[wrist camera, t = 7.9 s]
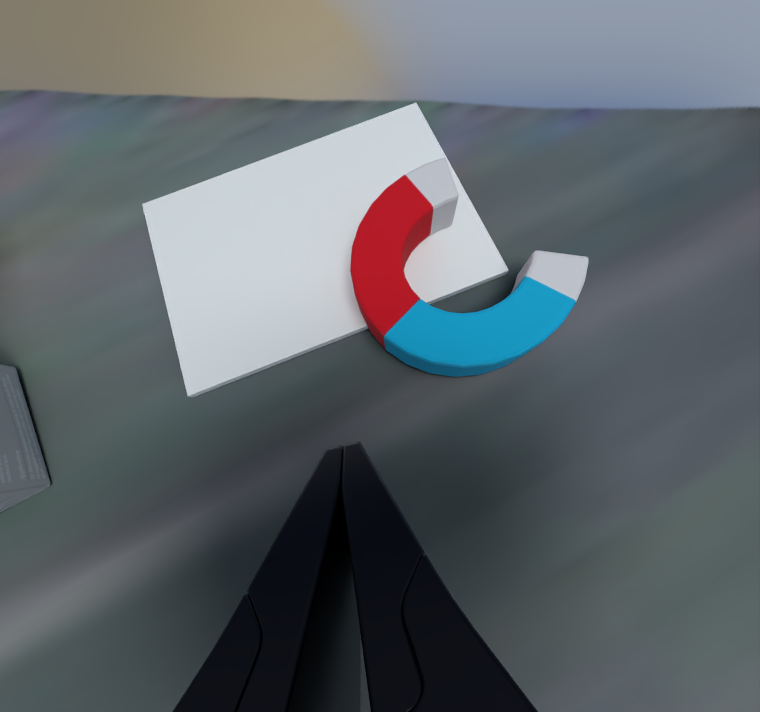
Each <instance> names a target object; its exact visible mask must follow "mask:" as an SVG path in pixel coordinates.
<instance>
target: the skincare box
mask: <svg viewBox="0 0 760 712" xmlns="http://www.w3.org/2000/svg"><path fill="white" fill-rule="evenodd" d="M50 485H51V483H50V479H49V476H48V473H47V469H46V466H45V463H44V459H43V456H42V453H41V450H40V446H39V443H38V440H37V436H36V433H35V430H34V427H33V423H32V420H31V417H30V413H29V410H28V407H27V403H26V400H25V397H24V394H23V390H22V387H21V384H20V381H19V377H18V374H17V370H16V368H15V367H12V366H7V365H2V364H0V512H2V511H4V510H6V509H8V508H10V507H12V506H14V505H15V504H17V503H19V502H21V501H23V500H25V499H27V498H29V497H31V496H33V495H34V494H36V493H38V492H40V491H42V490H44V489H46V488H47V487H49V486H50Z"/></svg>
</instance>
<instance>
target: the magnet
mask: <svg viewBox="0 0 760 712" xmlns="http://www.w3.org/2000/svg"><path fill="white" fill-rule="evenodd" d="M458 197H459V194H458V191H457V188H456V185H455V183H454V180H453V177H452V174H451V171H450V168H449V166H448V163H447V160H446V158H441V159H438V160H435V161H432V162H429V163H426V164H424V165H422V166H420V167H418V168H416V169H414V170H412V171H410V172H408V173H407V174H405V175H403V176H402V177H401V178H399V179H398V180H397V181H395V182H394V183H393V184H391V185H390V186H389V187H387V188H386V189H385V190H384V191H383V192H382V193H381V194H380V196H379V197H378V198H377V199H376V200H375V201H374V202H373V203H372V204H371V206H370V207H369V209H368V211H367V212H366V214H365V216H364V217H363V219H362V221H361V223H360V224H359V227H358V230H357V233H356V236H355V239H354V242H353V245H352V251H351V265H350V272H351V277H352V283H353V288H354V293H355V296H356V300H357V303H358V306H359V309H360V312H361V314H362V316H363V318H364V320H365V322H366V324H367V326H368V328H369V330H370V332H371V333H372V334H373V336H374V337H375V338H376V339H377V340H378V341H379V343H380V344H381V345H382V346H383V347H384V348H385V350H387V351H388V352H389V353H391V354H392V355H394V356H395V357H397V358H398V359H400V360H401V361H402V362H404V363H405V364H407V365H410V366H413V367H415V368H418V369H420V370H423V371H425V372H428V373H432V374H439V375H446V376H453V377H459V376H470V375H480V374H484V373H487V372H490V371H493V370H496V369H499V368H502V367H505V366H507V365H508V364H510V363H512V362H513V361H515V360H517V359H518V358H520V357H522V356H523V355H525V354H527V353H528V352H529V351H531V350H532V349H534V348H535V347H537V346H538V345H539V344H541V343H542V342H544V341H545V340H546V339H547V338H548V337H549V336H550V335H551V334H552V333H553V332H554V331H555V330H556V329H557V328H558V327H559V326H560V325H561V324H562V323H563V322H564V320H565V319H566V317H567V316H568V314H569V313H570V311H571V310H572V308H573V307H574V305H575V304H576V301H577V299H578V297H579V294H580V292H581V289H582V287H583V284H584V282H585V277H586V271H587V266H588V258H587V257H584V256H576V255H568V254H560V253H553V252H545V251H534V252H533V253H532V255H531V256H530V258H529V259H528V261H527V262H526V263H525V265H524V266H523V268H522V269H521V271H520V272H519V273H518V275H517V277H516V282H515V285H514V287H513V290H512V292H511V294H510V295H509V296H507V297H506V298H505V299H504V300H503V301H501V302H499V303H497V304H496V305H494V306H492V307H490V308H487V309H484V310H481V311H478V312H472V313H462V314H461V313H453V312H446V311H443V310H440V309H438V308H435V307H432V306H431V305H429V304H428V303H426V302H425V301H423V300H421V299H420V298H419V297H418V295H417V294H416V293H415V292H414V291H413V290H412V289H411V287H410V285H409V283H408V281H407V279H406V277H405V273H404V268H405V264H406V262H407V260H408V258H409V256H410V254H411V253H412V251H413V250H414V249H415V248H416V247H417V246H418V244H419V243H420V242H422V241H423V240H424V239H426V238H427V237H428V236H430V235H431V234H433V233H435V232H437V231H439V230H441V229H443V228H446V227H449V226H451V225H452V223H453V219H454V214H455V210H456V206H457V202H458Z"/></svg>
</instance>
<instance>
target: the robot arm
mask: <svg viewBox="0 0 760 712" xmlns="http://www.w3.org/2000/svg"><path fill="white" fill-rule="evenodd" d="M247 592H248V594H245V595H244V596H243V598H242V600H241V602H240V603H239V605H238V607H237V609H236V610H235V612H234V614H233V616H232V618H231V619H230V621H229V623H228V624H227V626H226V628H225V629H224V631H223V633H222V635H221V636H220V638H219V640H218V641H217V643H216V645H215V646H214V648H213V650H212V651H211V653H210V655H209V656H208V658H207V659H206V661H205V662H204V664H203V665H202V667H201V669H200V670H199V672H198V673H197V675H196V676H195V678H194V680H193V681H192V683H191V684H190V686H189V687H188V689H187V691H186V692H185V694H184V695H183V697H182V698H181V700H180V701H179V703H178V704H177V706H176V707H175V709H174V710H173V712H360V633H361V640H362V648H363V655H364V662H365V670H366V677H367V685H368V692H369V700H370V707H371V712H538V711H537V710H536V709H535V707H534V706H533V705H532V703H531V702H530V701H529V699H528V698H527V697H526V696H525V694H524V693H523V692H522V690H521V689H520V688H519V686H518V685H517V684H516V682H515V681H514V680H513V678H512V677H511V676H510V674H509V673H508V672H507V671H506V669H505V668H504V667H503V665H502V664H501V663H500V661H499V660H498V659H497V657H496V656H495V655H494V653H493V652H492V651H491V649H490V648H489V647H488V646H487V644H486V643H485V642H484V640H483V639H482V638H481V636H480V635H479V634H478V632H477V631H476V630H475V628H474V627H473V626H472V624H471V623H470V621H469V620H468V619H467V617H466V616H465V614H464V613H463V612H462V610H461V609H460V608H459V606H458V605H457V603H456V602H455V600H454V599H453V598H452V596H451V594H450V593H449V591H448V590H447V588H446V586H445V585H444V583H443V582H442V580H441V578H440V577H439V575H438V574H437V572H436V570H435V569H434V567H433V565H432V564H431V562H430V560H429V558H428V557H427V555H425V552H424V550H423V548H422V547H421V545H420V543H419V542H418V540H417V538H416V536H415V535H414V533H413V531H412V530H411V528H410V526H409V524H408V523H407V521H406V519H405V518H404V516H403V514H402V513H401V511H400V509H399V507H398V506H397V504H396V502H395V501H394V499H393V497H392V495H391V494H390V492H389V490H388V489H387V487H386V485H385V483H384V482H383V480H382V478H381V477H380V475H379V473H378V471H377V470H376V468H375V466H374V465H373V463H372V461H371V459H370V458H369V456H368V454H367V453H366V451H365V449H364V447H363V446H362V444H361V443H360V442H354V443H350V444H346V445H345V446H344V447H343V446H336V447H332V448H328V449H327V450H326V451H325V452H324V454H323V456H322V458H321V459H320V461H319V463H318V465H317V466H316V468H315V470H314V472H313V474H312V475H311V477H310V479H309V481H308V483H307V484H306V486H305V488H304V490H303V491H302V493H301V495H300V497H299V499H298V500H297V502H296V504H295V506H294V507H293V509H292V511H291V513H290V515H289V516H288V518H287V520H286V522H285V523H284V525H283V527H282V529H281V531H280V532H279V534H278V536H277V538H276V540H275V541H274V543H273V545H272V547H271V548H270V550H269V552H268V554H267V556H266V557H265V559H264V561H263V563H262V564H261V566H260V568H259V570H258V572H257V573H256V575H255V577H254V579H253V581H252V582H251V584H250V586H249V588H248V589H247Z"/></svg>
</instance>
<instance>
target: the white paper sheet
mask: <svg viewBox="0 0 760 712" xmlns="http://www.w3.org/2000/svg"><path fill="white" fill-rule="evenodd" d="M441 158H446V156H445V154H444V152H443V150H442V149H441V147H440V145H439V143H438V141H437V139H436V138H435V136H434V134H433V132H432V130H431V129H430V127H429V125H428V123H427V121H426V119H425V118H424V116H423V114H422V112H421V110H420V109H419V107H418V105H417V103H414V104H411V105H408V106H406V107H403V108H400V109H398V110H395V111H392V112H390V113H387V114H384V115H381V116H379V117H376V118H373V119H371V120H368V121H365V122H363V123H360V124H357V125H354V126H352V127H349V128H346V129H344V130H341V131H338V132H336V133H333V134H330V135H328V136H325V137H322V138H319V139H317V140H314V141H311V142H309V143H306V144H303V145H301V146H298V147H295V148H293V149H290V150H287V151H284V152H282V153H279V154H276V155H274V156H271V157H268V158H266V159H263V160H260V161H258V162H255V163H252V164H249V165H247V166H244V167H241V168H239V169H236V170H233V171H231V172H228V173H225V174H222V175H220V176H217V177H214V178H212V179H209V180H206V181H204V182H201V183H198V184H196V185H193V186H190V187H187V188H185V189H182V190H179V191H177V192H174V193H171V194H169V195H166V196H163V197H161V198H158V199H155V200H152V201H150V202H147V203H144V204H142V205H143V209H144V214H145V218H146V222H147V226H148V230H149V235H150V239H151V243H152V247H153V251H154V256H155V260H156V264H157V268H158V273H159V277H160V281H161V285H162V289H163V294H164V298H165V302H166V306H167V311H168V315H169V319H170V323H171V327H172V332H173V336H174V340H175V344H176V349H177V353H178V357H179V361H180V365H181V370H182V374H183V378H184V382H185V387H186V391H187V395H188V396H189V397H195V396H198V395H200V394H203V393H205V392H208V391H211V390H213V389H216V388H218V387H221V386H223V385H226V384H228V383H231V382H234V381H236V380H239V379H241V378H244V377H246V376H249V375H251V374H254V373H256V372H259V371H262V370H264V369H267V368H269V367H272V366H274V365H277V364H279V363H282V362H285V361H287V360H290V359H292V358H295V357H297V356H300V355H302V354H305V353H307V352H310V351H313V350H315V349H318V348H320V347H323V346H325V345H328V344H330V343H333V342H335V341H338V340H341V339H343V338H346V337H348V336H351V335H353V334H356V333H358V332H361V331H364V330H366V329H369V328H368V326H367V324H366V322H365V320H364V318H363V316H362V314H361V312H360V309H359V306H358V303H357V300H356V296H355V293H354V288H353V283H352V277H351V272H350V265H351V251H352V245H353V242H354V239H355V236H356V233H357V230H358V227H359V224H360V223H361V221H362V219H363V217H364V216H365V214H366V212H367V211H368V209H369V207H370V206H371V204H372V203H373V202H374V201H375V200H376V199H377V198H378V197H379V196H380V194H381V193H382V192H383V191H384V190H385V189H386V188H387V187H389V186H390V185H391V184H393V183H394V182H395V181H397V180H398V179H399V178H401V177H402V176H403V175H405V174H407V173H408V172H410V171H412V170H414V169H416V168H418V167H420V166H422V165H424V164H426V163H429V162H432V161H435V160H438V159H441ZM446 160H447V163H448V166H449V168H450V171H451V174H452V177H453V180H454V183H455V185H456V188H457V191H458V194H459V197H458V202H457V206H456V210H455V214H454V219H453V223H452V225H451V226H449V227H446V228H443V229H441V230H439V231H437V232H435V233H433V234H431V235H430V236H428V237H427V238H426V239H424V240H423V241H422V242H420V243H419V244H418V246H417V247H416V248H415V249H414V250H413V251H412V253H411V254H410V256H409V258H408V260H407V262H406V264H405V268H404V273H405V277H406V279H407V281H408V283H409V285H410V287H411V289H412V290H413V291H414V292H415V293H416V294H417V295H418V297H419V298H420V299H421V300H423V301H425V302H426V303H428V304H429V305H430V304H432V303H435V302H437V301H440V300H443V299H445V298H448V297H450V296H453V295H455V294H458V293H460V292H463V291H465V290H468V289H471V288H473V287H476V286H478V285H481V284H483V283H486V282H488V281H491V280H494V279H496V278H499V277H501V276H504V275H506V274H507V272H508V271H509V270H508V268H507V266H506V265H505V263H504V261H503V259H502V257H501V255H500V254H499V252H498V250H497V248H496V246H495V245H494V243H493V241H492V239H491V237H490V236H489V234H488V232H487V230H486V228H485V226H484V225H483V223H482V221H481V219H480V217H479V216H478V214H477V212H476V210H475V208H474V207H473V205H472V203H471V201H470V199H469V197H468V196H467V194H466V192H465V190H464V188H463V187H462V185H461V183H460V181H459V179H458V178H457V176H456V174H455V172H454V170H453V168H452V167H451V165H450V163H449V161H448V159H447V158H446Z"/></svg>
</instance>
